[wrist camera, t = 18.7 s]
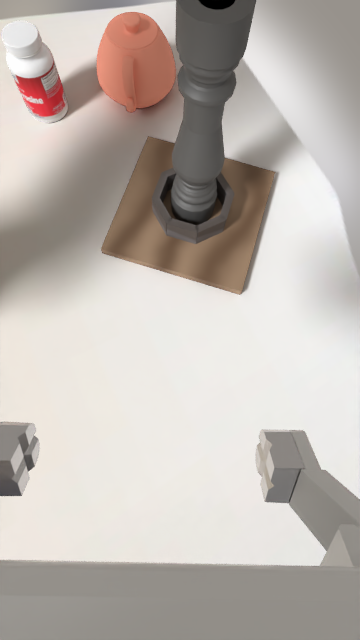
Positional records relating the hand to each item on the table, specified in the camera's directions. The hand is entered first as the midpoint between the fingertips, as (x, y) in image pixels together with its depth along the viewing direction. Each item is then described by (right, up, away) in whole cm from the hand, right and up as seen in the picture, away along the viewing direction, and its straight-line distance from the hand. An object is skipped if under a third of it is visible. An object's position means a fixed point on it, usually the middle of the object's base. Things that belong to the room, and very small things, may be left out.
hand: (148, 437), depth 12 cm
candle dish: (+3, +20, +37) cm, 42 cm away
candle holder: (+3, +20, +36) cm, 41 cm away
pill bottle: (-20, +38, +41) cm, 59 cm away
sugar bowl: (-6, +42, +43) cm, 60 cm away
